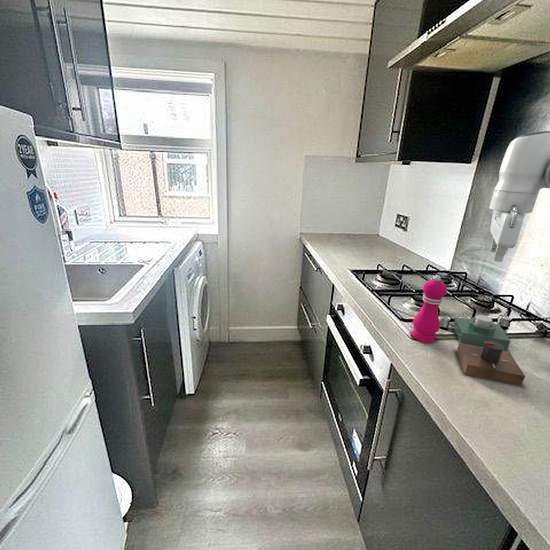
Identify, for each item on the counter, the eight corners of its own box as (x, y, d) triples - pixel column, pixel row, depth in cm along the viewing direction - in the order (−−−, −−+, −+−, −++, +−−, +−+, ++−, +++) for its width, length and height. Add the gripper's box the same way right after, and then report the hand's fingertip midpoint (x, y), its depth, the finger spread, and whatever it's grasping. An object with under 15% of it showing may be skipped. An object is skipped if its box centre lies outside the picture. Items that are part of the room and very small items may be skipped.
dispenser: (495, 332, 94) (500, 318, 93) (507, 350, 86) (512, 335, 84) (452, 325, 98) (456, 311, 96) (459, 342, 89) (463, 327, 87)
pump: (488, 322, 91) (489, 316, 91) (492, 328, 88) (494, 322, 87) (473, 319, 92) (474, 313, 92) (476, 326, 89) (478, 320, 88)
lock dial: (496, 355, 78) (501, 341, 77) (501, 364, 75) (506, 349, 73) (478, 351, 79) (483, 337, 78) (482, 360, 76) (487, 346, 74)
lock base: (506, 361, 81) (510, 351, 80) (521, 386, 72) (525, 375, 71) (456, 351, 84) (459, 342, 83) (464, 374, 76) (467, 363, 74)
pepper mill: (410, 340, 89) (424, 277, 82) (410, 328, 96) (423, 269, 88) (437, 346, 87) (454, 282, 79) (435, 333, 93) (450, 273, 86)
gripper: (536, 210, 65) (516, 269, 70) (520, 200, 82) (505, 249, 87) (501, 207, 68) (484, 264, 73) (493, 198, 85) (479, 245, 90)
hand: (495, 256), depth 80 cm, fingers open, 8 cm apart
